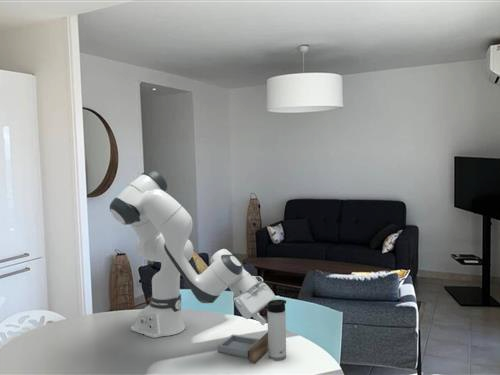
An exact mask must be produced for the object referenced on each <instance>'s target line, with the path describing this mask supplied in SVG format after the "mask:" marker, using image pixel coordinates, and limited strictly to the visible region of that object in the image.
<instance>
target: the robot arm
mask: <svg viewBox="0 0 500 375" xmlns="http://www.w3.org/2000/svg"><path fill="white" fill-rule="evenodd" d="M167 190H168V183H167V180H166V179H165V178H164V176H163V175H162V174H161V173H159V172H158V171H157V170H153V169H147V170H145V171H144V172H142V173H141V175H139V176H138V177H136V178H135V179H134V180H132V181H131V182H130V183H129V184H128V185H127V186H126V187H125V188H124V189H123V190H122V191H120V193H119V194H117V196H116V197H115V198H114V199H112V201H111V202H110V204H109V211H110V212H111V215H112V217H113V218H114V219H115V220H116V221H117V222H119V223H121V224H122V225H124V226H125V225H130V226H131V228H132V229H133V231H134V232H135V234H136V235H137V238H138V240H137V242H136V248H135V250H136V253H137V256H138V257H140V258H141V259H144V260H146V261H149V262H157V263H158V262H159V263H160V265H161V266H160V270H159V271H158V272H156V273H155V274H154V275H153V276H152V279H151V289H152V290H151V292H152V294H151V296H150V297H147V298H146V299H147V300H146V301H147V302H149V303H148V305H146V306H145V307H144V308H143V309H142V310H140V311H139V312H138V314H137V316H136V322H135V323H133V324H132V325H131V326H130V331H133V332H134V333H138V334H141V335H143V334H144V336H147V337H150V338H153V339H154V338H160V337H168V336H173V335H177V334H179V333H182V332H183V331H184V330H186V326H185V324H184V322H185V321H184V319H183V314H182V295H181V292H180V291H181V289H180V287H181V283H180V282H181V277H182V278H183V279H184V281H185V282H186V284H187V285H188V287H189V289H190V291H191V293H192V294H193V295H194V298H195V299H196V300H197V301H198V302H199V303H201V304H214V303H215V302H216V300H217V299H218V298H219V297H220V295H222V293H223V292H224V291H226V289H229V290H230V291H231V292H232V294H233V298H232V299H233V302H234V304H235V308H237V311H238V312H239V313H240V314H241V316H242V317H243V319H246V320H249V319H251V318H253V319H254V320H256V321H257V322H259V323H260V324H261V326H264V325H266V323H268V319H267V318H266V317H265V316H264V317H263V316H262V315H260V311H261V310H264V308H265V307H267V304H268V303H269V302H270V301H272V300H276V295H275V293H274V291H273V290H272V289H271V288H270V287H269V286H268V284H267V283H265V282H264V279H263V278H262V277H261V276H255V275H251V274H250V273H249V272H248V271H247V270H246V269H245V268H244V266H243V263H242V262H241V261H240V260H239V258H237V256H236V255H234V254H233V253H232V252H230V251H229V250H228V249H226V248H221V249H219V250H217V251H216V252H214V254H212V255H211V257H210V259H209V261H210V265H209V266H208V267H207V268H205V270H204V271H202V272H200V274H198V273H197V272H196V270H195V269H194V268H193V266H192V265H191V262H189V261H190V260H191V258H193V254H194V246H193V243H192V241H191V240H190V239H189V237H190V236H191V233H192V230H193V225H194V224H193V218H192V216H191V214H189V212H188V211H187V210H186V208H185V207H184V206H182V205H181V203H179V202H178V201H177V200H176V199H175V198H173V196H171V195H170V194H168V193H167Z"/></svg>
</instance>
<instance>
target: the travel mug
mask: <svg viewBox="0 0 500 375" xmlns="http://www.w3.org/2000/svg"><path fill="white" fill-rule="evenodd" d="M286 304H287V300H286V299H274V300H272V301H270V302H269V303H268V304H267V306H266V307H267V332H268V351H267V352H268V353H267V355H268V358H269V359H270V360H272V361H282V360H284V359H286V358H287V332H286V331H287V329H286V328H287V327H286V325H287V324H286V323H287V322H286V320H287V319H286V317H287V316H286Z"/></svg>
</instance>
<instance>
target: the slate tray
mask: <svg viewBox="0 0 500 375" xmlns="http://www.w3.org/2000/svg"><path fill="white" fill-rule="evenodd" d="M259 339H260V338H256V337H249V336H243V335H238V334H233V333H232V334H231V335H229V336H228V337H226V339H224V340H223V341H221V342H220V343H219V344H218V345H217V354H218V353H219V354H223V355H229V356H232V357H238V358H242V359H243V358H244V359H250V354H249V348H250V347H252V346H253V345H254V344H255V343H256V342H257V341H258V340H259Z"/></svg>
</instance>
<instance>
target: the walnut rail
mask: <svg viewBox="0 0 500 375" xmlns="http://www.w3.org/2000/svg"><path fill="white" fill-rule="evenodd" d="M258 339H259V340H258V341H257V342H256V343H255V344H254V345H253V346H252V347H250V348H249V354H250V357H249V363H250V364H253V365H255V364H257V363H258V362H259V361H260V359H262V358H263V357H264V356H265V355H266V353H267V352H268V331H267V332H266V333H265V334H263V335H262V337H260V338H258Z"/></svg>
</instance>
